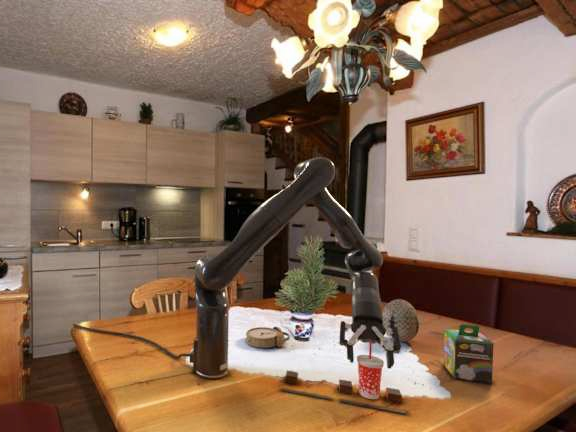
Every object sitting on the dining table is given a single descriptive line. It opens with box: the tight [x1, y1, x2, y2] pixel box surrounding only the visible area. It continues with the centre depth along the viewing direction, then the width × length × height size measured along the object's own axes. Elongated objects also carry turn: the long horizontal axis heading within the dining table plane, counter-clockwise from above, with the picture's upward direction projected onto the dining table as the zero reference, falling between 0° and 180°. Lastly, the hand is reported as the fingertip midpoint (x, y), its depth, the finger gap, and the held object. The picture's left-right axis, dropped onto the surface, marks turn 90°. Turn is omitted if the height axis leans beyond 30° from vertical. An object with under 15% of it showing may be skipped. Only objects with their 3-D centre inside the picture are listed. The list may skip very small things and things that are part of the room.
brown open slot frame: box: [338, 379, 407, 416], centre depth 87 cm, size 14×8×2 cm, turn 70°
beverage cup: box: [356, 340, 385, 400], centre depth 90 cm, size 6×6×14 cm
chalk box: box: [443, 323, 495, 385], centre depth 102 cm, size 9×9×15 cm
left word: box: [281, 370, 333, 401], centre depth 93 cm, size 12×8×2 cm, turn 70°
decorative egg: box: [382, 298, 420, 343], centre depth 127 cm, size 12×12×15 cm
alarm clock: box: [245, 326, 291, 349], centre depth 123 cm, size 11×5×15 cm
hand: (370, 364), depth 89 cm, fingers open, 8 cm apart
